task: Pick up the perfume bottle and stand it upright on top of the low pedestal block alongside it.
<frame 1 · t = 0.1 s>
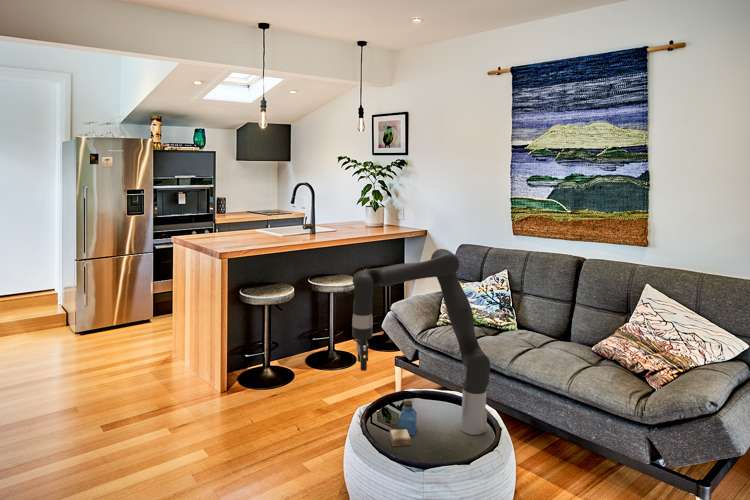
hand: (362, 365, 205), 29 cm above the table, fingers open, 8 cm apart
perfume bottle: (407, 430, 216), on the table
pedestal: (399, 440, 208), on the table
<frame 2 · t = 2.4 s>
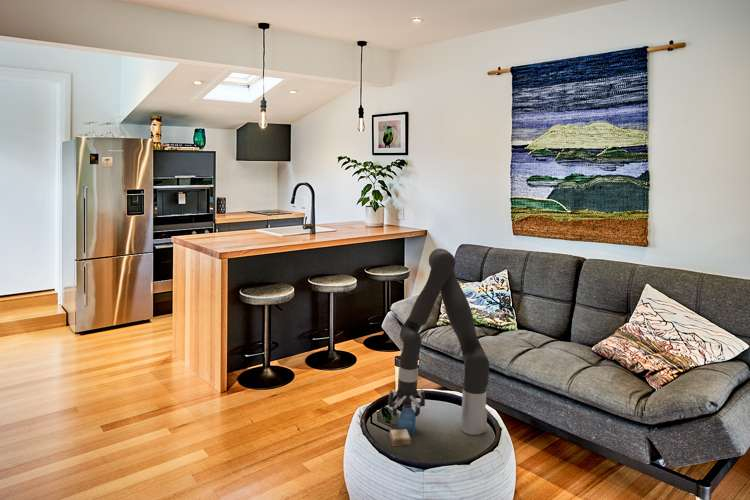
hand: (405, 415, 215), 6 cm above the table, fingers open, 8 cm apart
perfume bottle: (406, 431, 216), on the table, touching gripper
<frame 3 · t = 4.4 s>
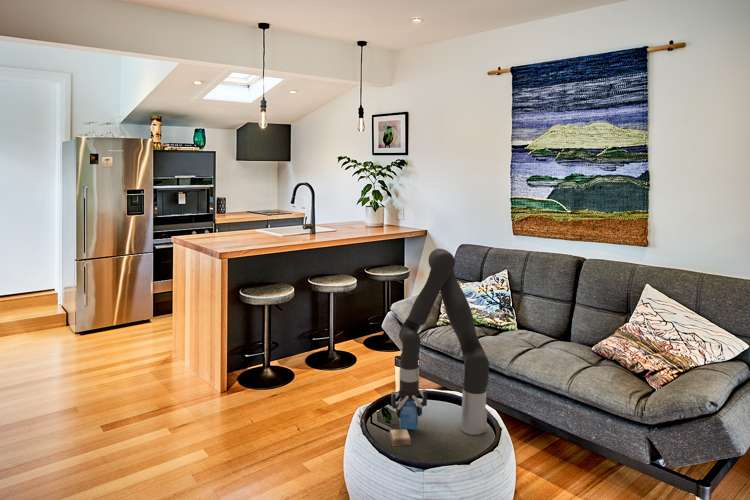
hand: (409, 416, 215), 6 cm above the table, fingers closed on perfume bottle, 7 cm apart
perfume bottle: (409, 425, 215), point 2 cm above the table, touching gripper
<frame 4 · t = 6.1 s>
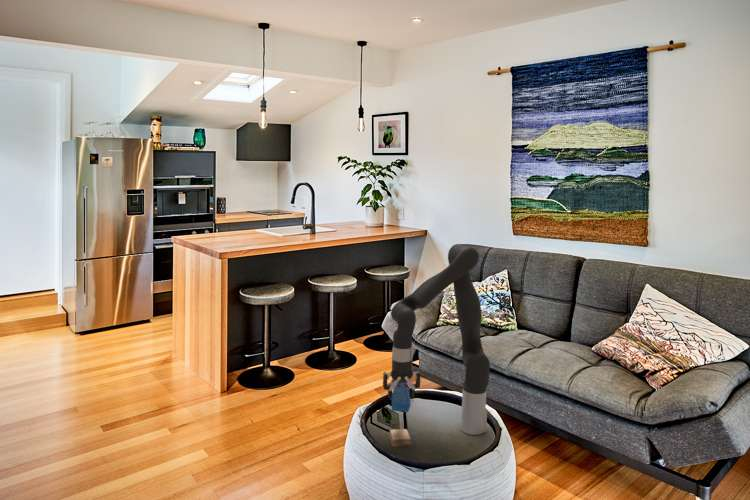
hand: (401, 398, 205), 17 cm above the table, fingers closed on perfume bottle, 7 cm apart
perfume bottle: (401, 407, 206), point 14 cm above the table, touching gripper
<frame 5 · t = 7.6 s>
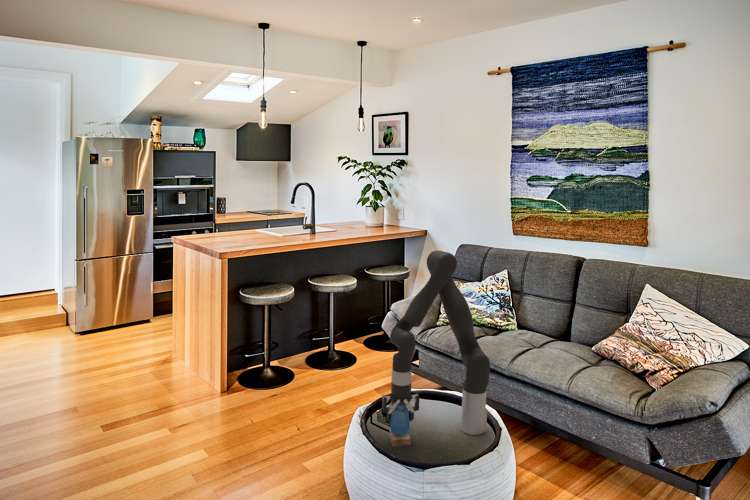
hand: (400, 421, 207), 8 cm above the table, fingers closed on perfume bottle, 7 cm apart
perfume bottle: (400, 430, 207), point 4 cm above the table, touching gripper
when the fingers open (7 cm above the table, at t = 8.9 s): perfume bottle stays where it is, resting on pedestal.
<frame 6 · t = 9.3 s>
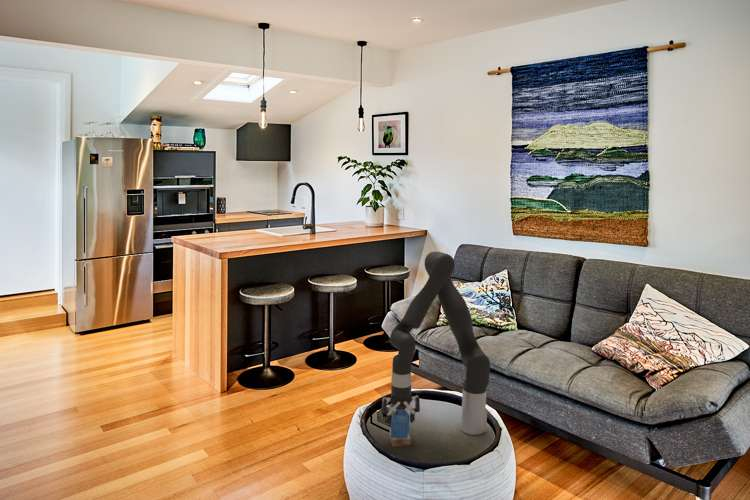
hand: (400, 422, 207), 8 cm above the table, fingers open, 8 cm apart
perfume bottle: (400, 434, 208), point 3 cm above the table, touching pedestal
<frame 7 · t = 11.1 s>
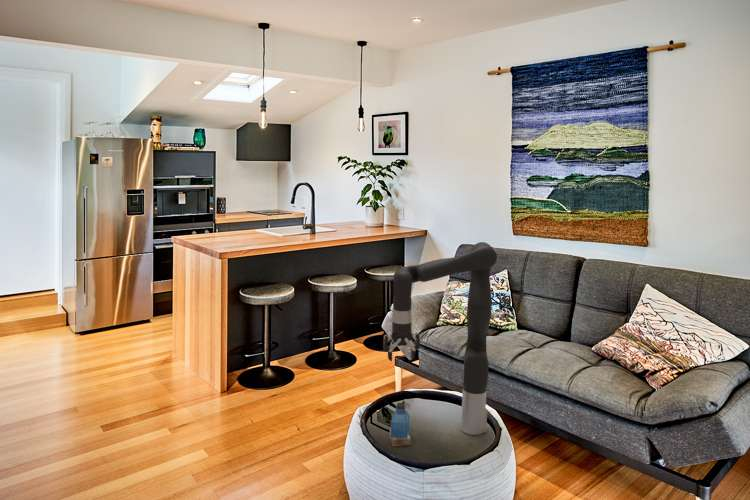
hand: (401, 359, 213), 29 cm above the table, fingers open, 8 cm apart
nothing on the table moved.
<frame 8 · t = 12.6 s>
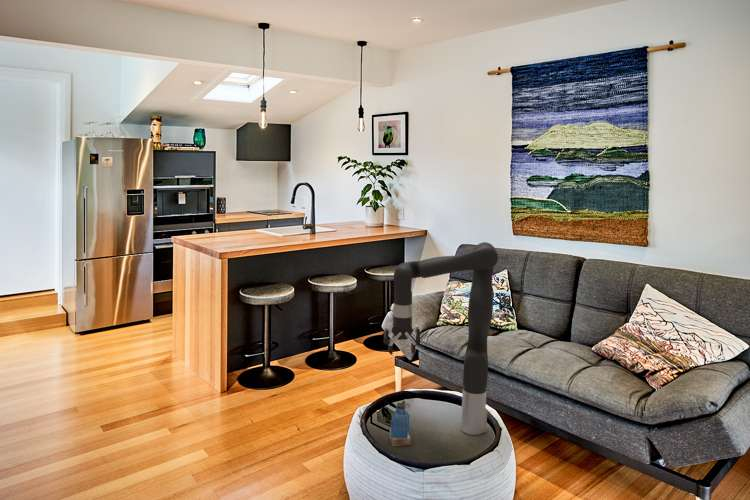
hand: (401, 353, 216), 30 cm above the table, fingers open, 8 cm apart
nothing on the table moved.
at the end: perfume bottle 0.0 cm off-centre on the pedestal, point 2.8 cm above the pedestal's base; perfume bottle tilted 0°; the gripper is holding nothing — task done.
